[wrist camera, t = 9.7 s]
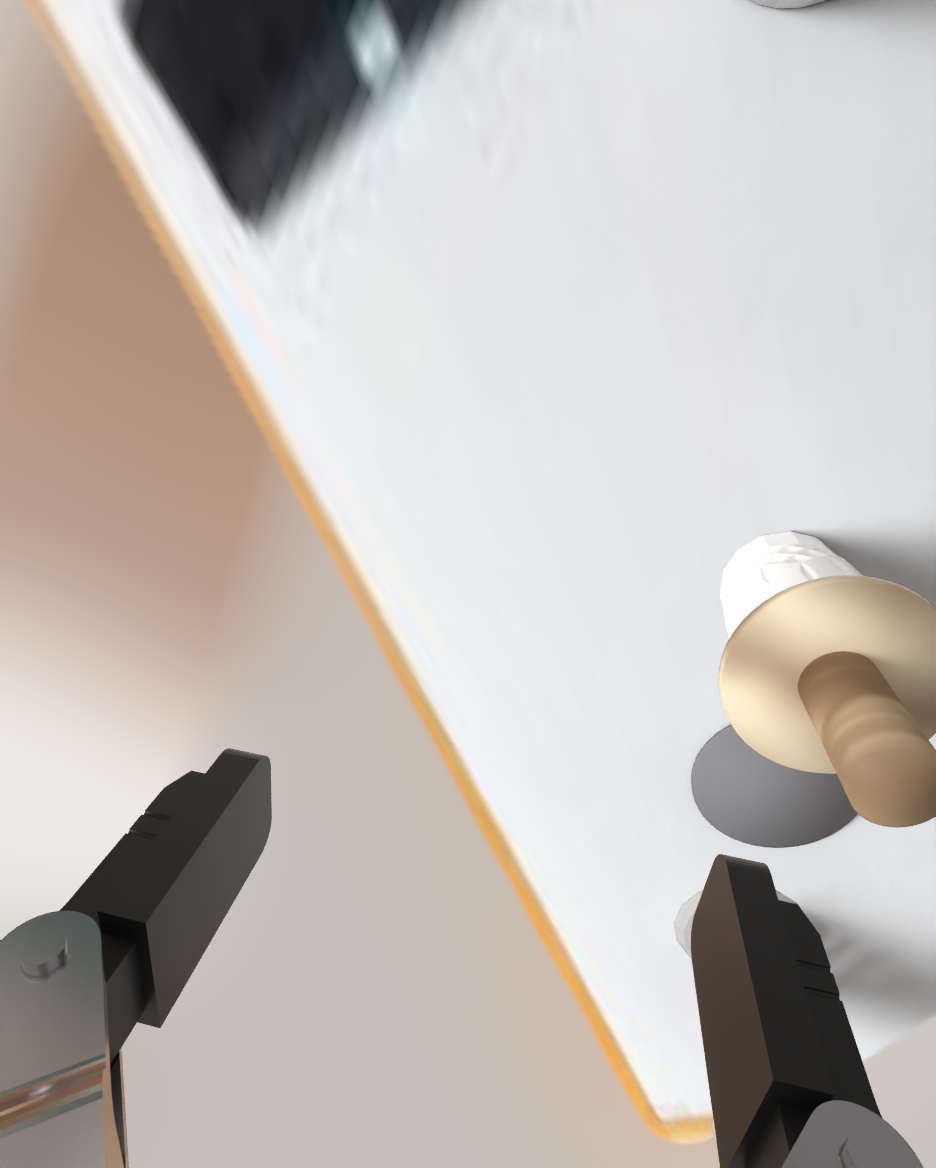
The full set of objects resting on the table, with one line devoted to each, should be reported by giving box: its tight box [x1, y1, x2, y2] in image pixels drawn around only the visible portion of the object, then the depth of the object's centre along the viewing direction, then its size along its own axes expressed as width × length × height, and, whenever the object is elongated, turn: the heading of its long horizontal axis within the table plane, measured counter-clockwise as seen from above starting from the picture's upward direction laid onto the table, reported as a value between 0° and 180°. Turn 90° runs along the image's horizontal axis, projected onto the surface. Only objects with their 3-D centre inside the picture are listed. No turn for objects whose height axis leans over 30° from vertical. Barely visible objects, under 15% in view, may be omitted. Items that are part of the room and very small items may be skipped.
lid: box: [718, 575, 936, 827], centre depth 28 cm, size 10×10×8 cm
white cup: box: [720, 531, 863, 639], centre depth 36 cm, size 8×8×10 cm
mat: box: [691, 725, 857, 848], centre depth 46 cm, size 11×11×1 cm
